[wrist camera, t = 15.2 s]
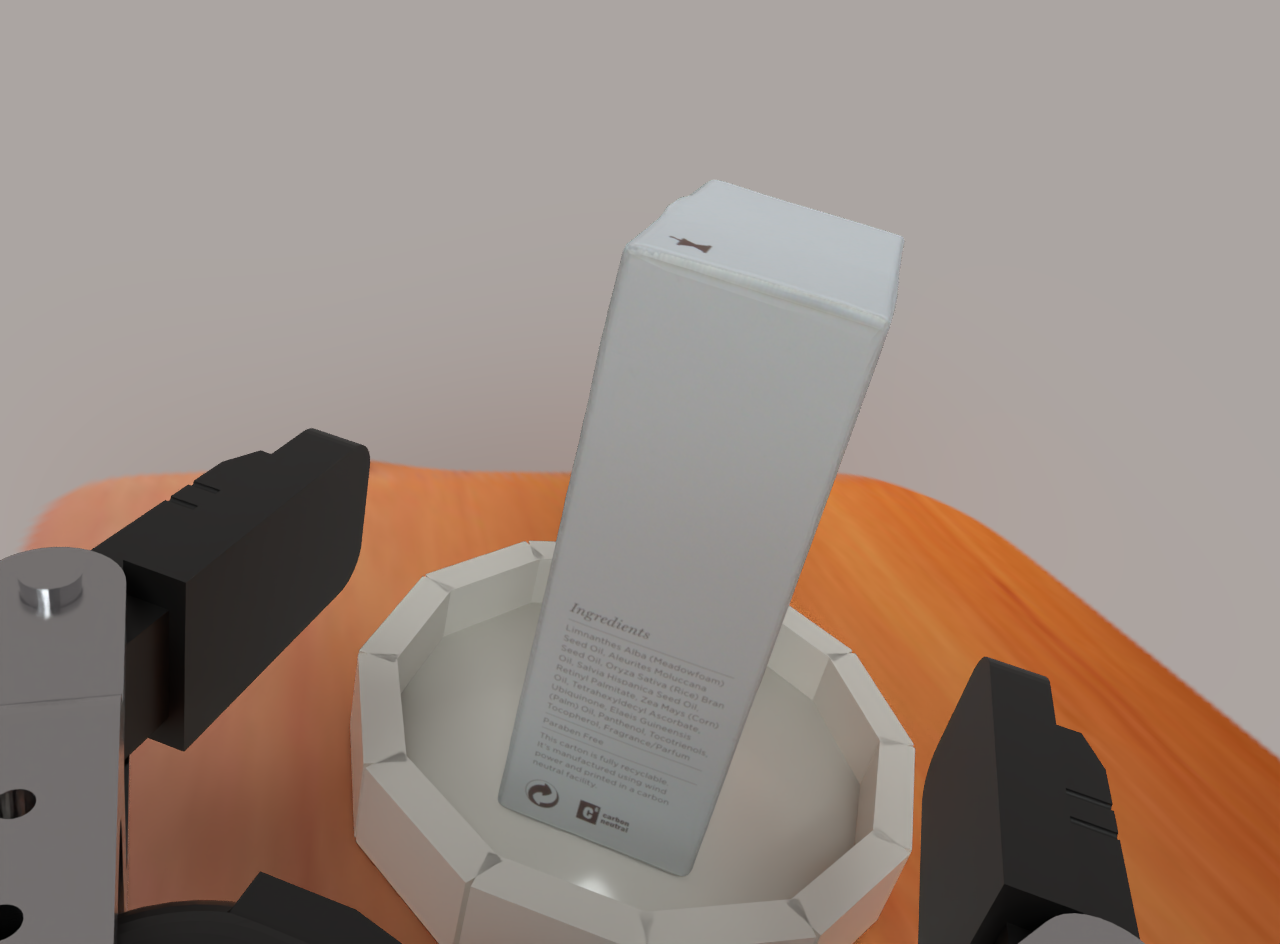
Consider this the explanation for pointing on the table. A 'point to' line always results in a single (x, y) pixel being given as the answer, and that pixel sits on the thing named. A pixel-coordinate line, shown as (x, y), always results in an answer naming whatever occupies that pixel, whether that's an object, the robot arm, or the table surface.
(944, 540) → the table surface
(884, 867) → the bowl
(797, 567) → the skincare box
